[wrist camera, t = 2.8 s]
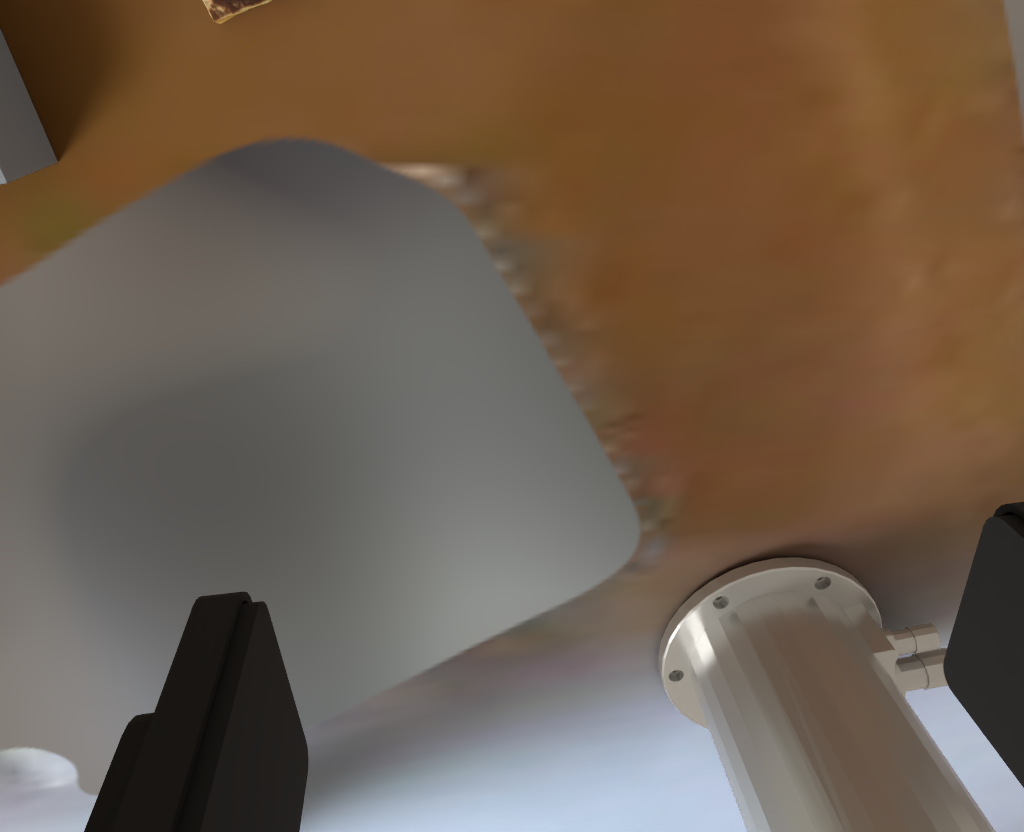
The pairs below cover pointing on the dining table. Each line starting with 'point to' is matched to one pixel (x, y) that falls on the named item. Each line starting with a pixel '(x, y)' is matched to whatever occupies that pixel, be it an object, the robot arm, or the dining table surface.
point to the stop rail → (19, 125)
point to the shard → (229, 8)
